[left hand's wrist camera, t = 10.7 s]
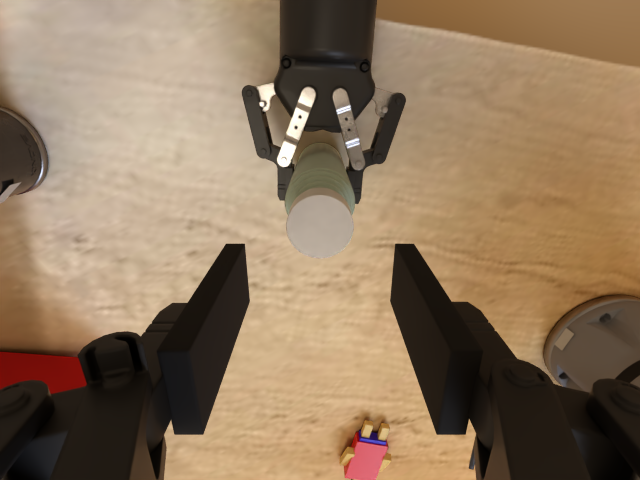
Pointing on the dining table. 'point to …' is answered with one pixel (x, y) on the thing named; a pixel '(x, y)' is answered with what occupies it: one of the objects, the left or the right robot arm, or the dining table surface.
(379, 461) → the toy figure
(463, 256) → the dining table surface
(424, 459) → the dining table surface
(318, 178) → the bottle
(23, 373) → the electric hoist
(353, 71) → the right robot arm
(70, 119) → the dining table surface
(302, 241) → the cap
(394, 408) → the dining table surface
